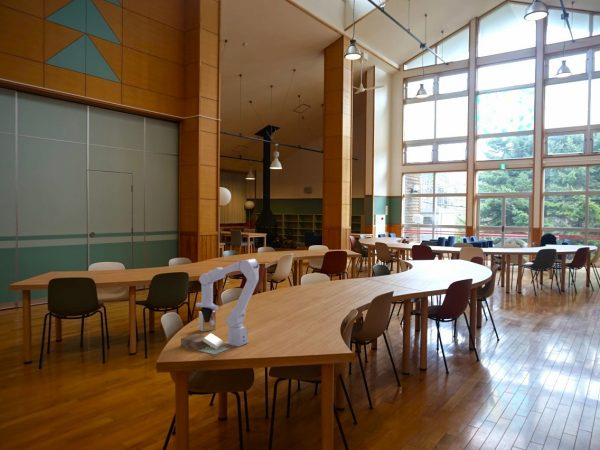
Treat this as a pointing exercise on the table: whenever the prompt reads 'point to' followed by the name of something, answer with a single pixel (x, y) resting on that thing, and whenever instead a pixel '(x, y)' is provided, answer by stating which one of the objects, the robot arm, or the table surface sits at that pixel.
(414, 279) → the table surface
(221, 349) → the mat
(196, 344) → the deck
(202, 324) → the small box
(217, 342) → the white rectangular block
